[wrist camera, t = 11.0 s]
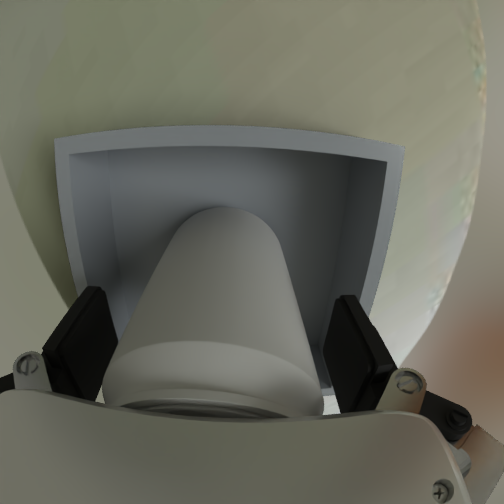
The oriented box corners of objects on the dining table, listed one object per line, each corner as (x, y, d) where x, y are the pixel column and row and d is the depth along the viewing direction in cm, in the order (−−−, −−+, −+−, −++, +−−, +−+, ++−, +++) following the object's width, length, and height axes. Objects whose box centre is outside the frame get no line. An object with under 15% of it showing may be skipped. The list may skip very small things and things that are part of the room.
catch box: (101, 132, 14) (54, 138, 10) (361, 138, 15) (404, 146, 10) (129, 338, 20) (109, 386, 16) (323, 345, 21) (339, 394, 16)
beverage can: (183, 305, 18) (142, 485, 7) (161, 209, 15) (41, 378, 4) (283, 297, 18) (320, 484, 7) (277, 196, 15) (354, 376, 4)
